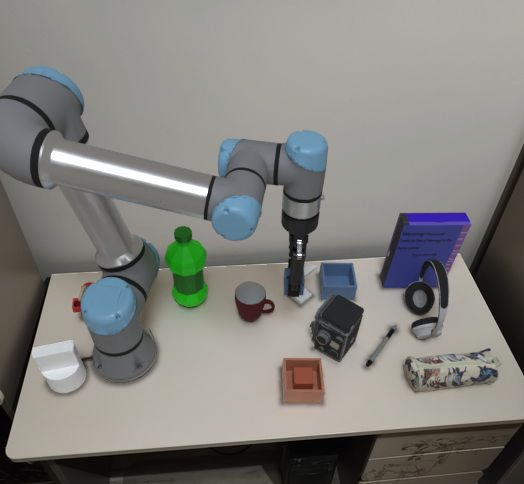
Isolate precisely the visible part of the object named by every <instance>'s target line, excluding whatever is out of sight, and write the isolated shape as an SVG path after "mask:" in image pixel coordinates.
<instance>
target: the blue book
mask: <svg viewBox="0 0 524 484" xmlns="http://www.w3.org/2000/svg"><path fill="white" fill-rule="evenodd" d="M471 227H472V223H471V220H470V218H469V217H468V214H467V213H466V212H399V213H398V217H397V219H396V223H395V226H394V230H393V231H392V235H391V239H390V242H389V245H388V247H387V248H388V249H387V251H386V253H385V257H384V261H383V263H382V264H383V265H382V267H381V270H380V273H379V279H380V282H381V286H382V289H407V287H408V286H409V285H410V284H411V283H413V282H415V281H419V277H420V272H421V268H422V265H423V263H424V262H425V261H426V260H428V259H436V260H438V261H440V262H441V263H442V264H443V265H444V267H445V269H446V271H447V275H448V276H449V273H450V271H451V269H452V266H453V265H454V263H455V260H456V259H457V256H458V254H459V252H460V250H461V248H462V246H463V244H464V242H465V239H466V237H467V235H468V233H469V230H470V229H471ZM422 282H425V283H427V284H428V285H430V287H431V288H438V284H437V279H436V275H435V272H434V270H433V268H432V267H431V266H429V267H428V268H427V270H426V272H425V274H424V276H423V279H422Z"/></svg>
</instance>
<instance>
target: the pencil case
mask: <svg viewBox="0 0 524 484" xmlns="http://www.w3.org/2000/svg"><path fill="white" fill-rule="evenodd" d="M491 351H492V348H489V347H488V348H485V349H482V350H480V351H477V352H469V353H466V352H465V353H447V354H440V355H439V354H438V355H430V356H429V355H428V356H424V357H423V356H422V357H417V358H415V357H414V356H412V355H410V356H406V358H405V359H404V362H403V368H404V374H405V378H406V380H407V383H408V384H409V386H410V387H411V389H412V390H413V391H415V392H428V391H436V390H442V389H452V388H458V387H463V386H475V385H479V384H488V385H492V384H495V383H496V382H497V381H498V379H499V377H500V375H499V374H500V373H499V367H501V366H502V365H503V364H502V361H501V359H500V357H499V356H498V355H496V357H494V355H493V354H492V353H491Z"/></svg>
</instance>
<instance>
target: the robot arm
mask: <svg viewBox="0 0 524 484" xmlns="http://www.w3.org/2000/svg"><path fill="white" fill-rule="evenodd" d="M84 111H85V98H84V95H83V93H82V92H81V88H79V86H78V85H77V84H76V83H75V81H74V80H73V79H71V77H69V76H68V75H67V74H65V73H63V72H60V71H58V69H55V68H53V67H50V66H45V65H34V66H33V65H32V66H30V67H28V68H26V69H24V70H23V71H22V72H21V73H19V74H17V75H15V76H14V77H13V78H12V81H11V82H9V84H8V85H7V86H6V87H5V88H4V89H3V90H2V91H1V92H0V171H1V172H3V173H4V174H6V175H8V176H9V177H11V178H12V179H14V180H17V181H19V182H21V183H23V184H26V185H28V186H32V187H36V188H40V189H44V190H49V191H51V190H53V189H55V188H57V187H58V189H59V191H61V193H62V195H63V197H64V198H65V200H66V201H67V203H68V205H69V207H70V208H71V210H72V211H73V213H74V215H75V216H76V218H77V220H78V221H79V222H80V225H81V227H82V228H83V230H84V231H85V234H86V235H87V236H88V238H89V240H90V242H91V243H92V245H93V247H94V248H95V250H96V251H95V253H94V261H95V263H96V265H97V266H98V268H99V269H100V271H101V273H102V275H101V277H100V278H99V279H97V280H96V282H92V284H91V285H90V286H89V287H88V288H87V289H86V290H85V292H84V294H83V296H82V299H81V311H82V312H81V313H82V314H81V317H82V320H83V322H84V324H85V326H86V327H87V328H86V329H87V330H88V333H89V335H90V338H91V340H92V342H93V349H92V355H90V356H86V357H80V358H81V360H82V362H85V361H86V362H87V361H89V360H92V363H93V366H94V368H95V370H96V372H97V373H98V375H99V376H101V378H103V379H104V380H107V381H109V382H113V383H129V382H132V381H135V380H137V379H139V378H141V377H143V376H144V375H146V374H147V373H148V372H149V370H151V368H152V367H153V366H154V363H155V361H156V359H157V349H156V345H155V342H154V340H155V337H154V335H153V333H152V331H151V329H150V328H148V330H149V332H150V335H149V334H148V333H147V332H146V330H144V328H143V324H142V319H141V317H142V314H143V311H144V308H145V306H146V303H147V301H148V298H149V295H150V293H151V291H152V289H153V286H154V283H155V281H156V279H157V277H158V275H159V271H160V269H159V268H160V266H161V258H160V254H159V252H158V250H157V249H156V247H155V245H154V244H152V243H151V242H147V239H146V238H143V237H142V236H141V237H140V236H139V235H137V234H136V233H131V231H130V229H129V226H128V225H127V222H126V220H125V219H124V216H123V215H122V213H121V211H120V208H119V207H118V205H117V203H116V201H115V200H117V201H118V200H119V201H122V202H123V201H124V202H127V203H130V204H131V203H132V204H136V205H139V206H144V207H148V208H153V209H156V210H162V211H165V212H171V213H174V214H178V215H183V216H187V217H191V218H196V219H199V220H200V219H201V220H204V221H208V222H211V227H212V228H213V230H214V232H215V233H216V234H217V235H219V236H221V237H223V239H225V240H227V241H231V242H233V241H234V242H241V241H244V240H247V239H249V238H251V236H253V235H254V233H255V232H256V230H257V228H258V224H259V222H260V221H259V220H260V219H261V217H262V214H263V210H262V209H263V204H264V198H265V194H266V191H267V186H276V187H278V186H283V188H282V199H281V218H280V223H281V226H282V228H283V229H284V230H285V231H286V232H287V233H288V242H289V244H288V250H289V251H288V257H289V258H288V260H287V268H291V269H290V275H289V276H287V280H289V282H288V293H287V295H286V296H287V297H288V298H291V297H299V294H300V285H301V284H302V282H303V281H302V279H303V271H304V263H306V257H307V247H308V244H309V235H310V234H312V233H313V232H315V231H316V230H317V228H318V226H319V220H320V215H321V214H320V211H321V205H322V201H325V195H324V194H323V190H324V185H325V178H326V172H327V167H328V153H329V145H328V141H327V139H326V137H324V136H323V135H322V134H320V133H319V132H317V131H315V130H310V129H303V130H302V131H299V130H297V131H294V132H291V133H290V134H289V135H288V137H287V138H286V142H275V141H274V142H273V141H267V140H266V141H265V140H264V141H263V140H258V139H257V140H256V139H255V140H253V139H247V138H226V139H224V140H222V141H221V144H220V146H219V149H218V155H217V172H218V176H217V175H214V174H210V173H205V172H201V171H198V170H193V169H189V168H185V167H181V166H176V165H173V164H169V163H164V162H161V161H160V162H159V161H156V160H151V159H148V158H144V157H139V156H136V155H131V154H128V153H123V152H118V151H115V150H110V149H106V148H102V147H98V146H95V145H90V144H89V142H90V139H91V136H90V134H89V133H90V132H88V129H87V128H86V125H85V123H84V121H83V119H82V118H81V117H82V116H83V114H84ZM94 283H95V284H94Z"/></svg>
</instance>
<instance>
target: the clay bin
mask: <svg viewBox="0 0 524 484" xmlns="http://www.w3.org/2000/svg"><path fill="white" fill-rule="evenodd" d="M293 367H312V371H313V381H314V385H313V389H293V384H292V374H293ZM324 383H325V382H324V373H323V363H322V358H320V357H319V358H318V357H282V366H281V384H282V402H283V404H322V402H323V399H324V395H325V392H326V391H325V384H324Z"/></svg>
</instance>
